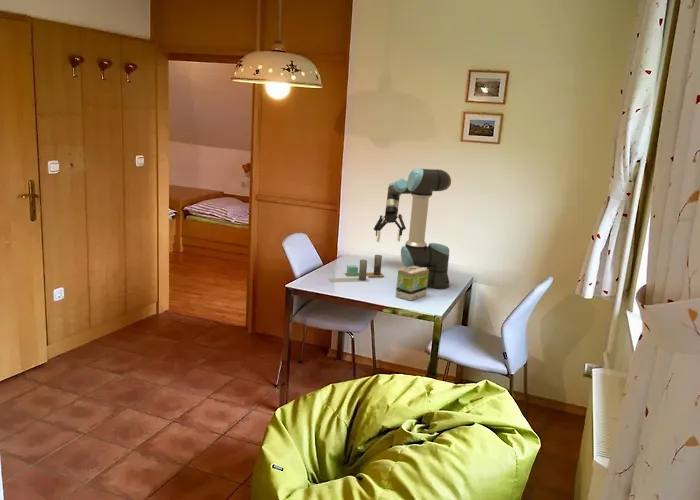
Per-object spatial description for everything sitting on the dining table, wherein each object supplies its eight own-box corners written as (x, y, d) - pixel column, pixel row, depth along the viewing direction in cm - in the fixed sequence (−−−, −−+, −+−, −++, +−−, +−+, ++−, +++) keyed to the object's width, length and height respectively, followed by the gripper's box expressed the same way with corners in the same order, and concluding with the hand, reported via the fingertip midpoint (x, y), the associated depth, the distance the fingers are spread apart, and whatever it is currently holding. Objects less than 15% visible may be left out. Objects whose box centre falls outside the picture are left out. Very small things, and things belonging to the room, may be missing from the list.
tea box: (411, 301, 313) (413, 273, 310) (395, 296, 319) (397, 269, 316) (427, 295, 325) (429, 268, 321) (411, 291, 331) (413, 264, 327)
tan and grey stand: (383, 277, 353) (385, 257, 350) (347, 278, 346) (348, 257, 344) (379, 273, 359) (381, 254, 357) (343, 274, 353) (344, 254, 350)
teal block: (357, 275, 349) (358, 267, 348) (349, 276, 348) (349, 267, 346) (355, 273, 354) (355, 265, 353) (346, 273, 352) (347, 265, 351)
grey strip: (369, 283, 340) (370, 262, 337) (330, 284, 334) (331, 262, 331) (365, 279, 347) (366, 258, 344) (327, 280, 340) (328, 259, 338)
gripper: (413, 208, 367) (409, 242, 361) (376, 211, 379) (372, 244, 373) (408, 204, 361) (404, 238, 355) (370, 206, 373) (366, 239, 367)
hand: (388, 241), depth 364 cm, fingers open, 13 cm apart
